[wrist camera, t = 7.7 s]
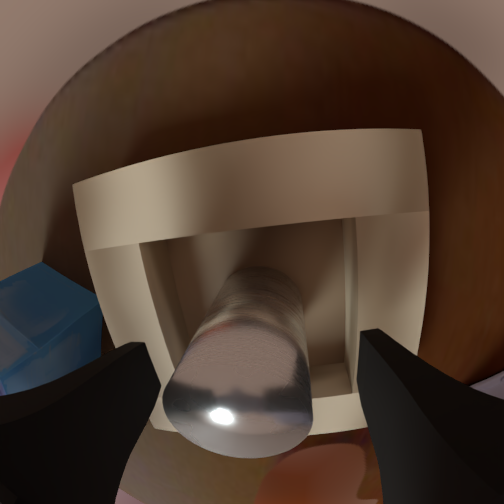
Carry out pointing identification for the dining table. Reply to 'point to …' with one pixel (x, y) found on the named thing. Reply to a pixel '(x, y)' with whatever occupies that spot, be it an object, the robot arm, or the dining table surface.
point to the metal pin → (245, 370)
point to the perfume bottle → (45, 328)
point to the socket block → (267, 246)
